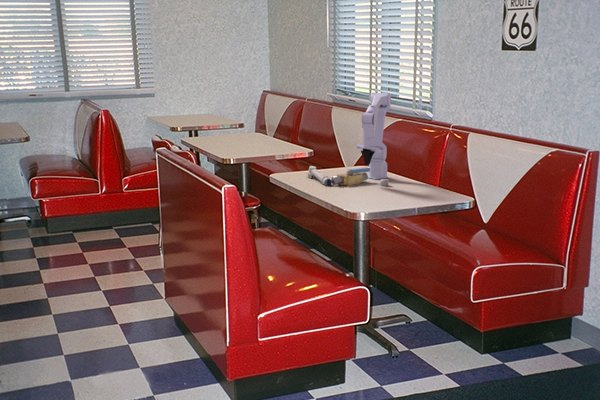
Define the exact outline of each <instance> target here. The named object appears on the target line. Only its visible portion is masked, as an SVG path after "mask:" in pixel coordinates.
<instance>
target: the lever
mask: <svg viewBox="0 0 600 400" xmlns="http://www.w3.org/2000/svg"><path fill="white" fill-rule="evenodd" d="M369 172H370V168H369V166H368V167H367V166H366V167H357V168H350V169H346V173H347V175H353V173H369Z"/></svg>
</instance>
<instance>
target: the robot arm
mask: <svg viewBox="0 0 600 400" xmlns="http://www.w3.org/2000/svg"><path fill="white" fill-rule="evenodd" d="M370 94H371V95H370V105H368V107H367V109H366V111H365V112H364V113H362V115H361V127H362V142H361V143H362V144H360V143H359V144H356V149H360V153H361V155H362V157H363V162H364V165H366V166H368V168H370V172H368V178H367V179H371V180H372V179H373V180H381V179H388V178H389V177H388V162H386V159H387V155H388V154H387V151H388V150H387V145H386V144H385V143H383V137H384V131H385V130H384V128H385V122H386V114H387V112H388V111H390V109H391V105H392V104H391V103H392V94H391V93H390V92H388V93H387V92H371V93H370Z"/></svg>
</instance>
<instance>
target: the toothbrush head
mask: <svg viewBox="0 0 600 400" xmlns="http://www.w3.org/2000/svg"><path fill="white" fill-rule="evenodd" d="M306 175H307V176H306V177H307V178H308V179H311V180H312V179H313V180H314V179H318V180H319V182H320V183H322V184H321V185H325V186H327V187H330V186H331V185H333V184H332V181H331V179H330V176H328V175H325V174H324V173H322V172H321V171H319V170H318V169H317V167H316V166H313V165H309V168H308V170H307V172H306Z"/></svg>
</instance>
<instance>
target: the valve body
mask: <svg viewBox="0 0 600 400" xmlns="http://www.w3.org/2000/svg"><path fill="white" fill-rule="evenodd" d="M368 176H369V174H368V172H362V173H353V175H347V172H346V173H340V174H336V176H333V177H331V179H330V180H331V181H332V184H331V185H333V186H337V185H342V186H348V185H349V186H355V185H354V184H356V185H361V183H363V181H367V180H368V179H369V178H368Z"/></svg>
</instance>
